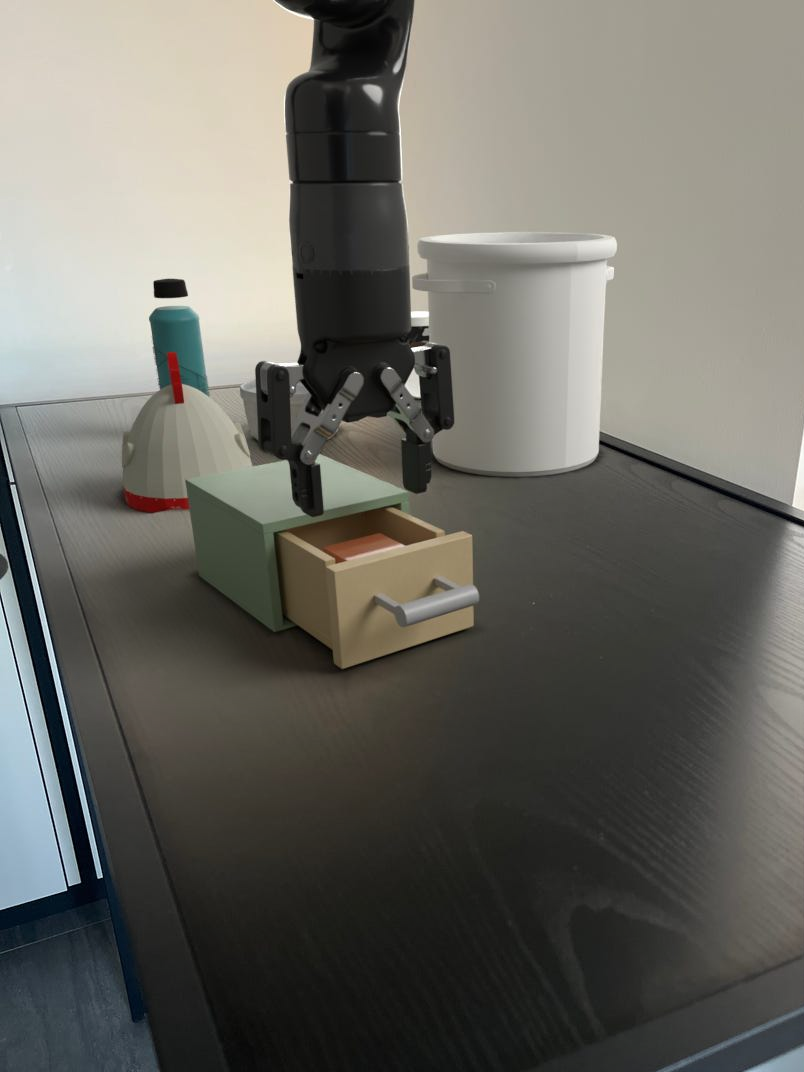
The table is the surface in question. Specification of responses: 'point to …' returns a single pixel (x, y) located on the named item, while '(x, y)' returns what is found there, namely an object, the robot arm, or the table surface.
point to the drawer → (376, 584)
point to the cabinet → (268, 525)
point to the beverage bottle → (177, 337)
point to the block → (361, 547)
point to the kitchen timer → (178, 445)
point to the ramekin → (251, 404)
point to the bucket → (519, 347)
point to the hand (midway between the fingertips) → (364, 502)
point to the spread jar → (416, 336)
